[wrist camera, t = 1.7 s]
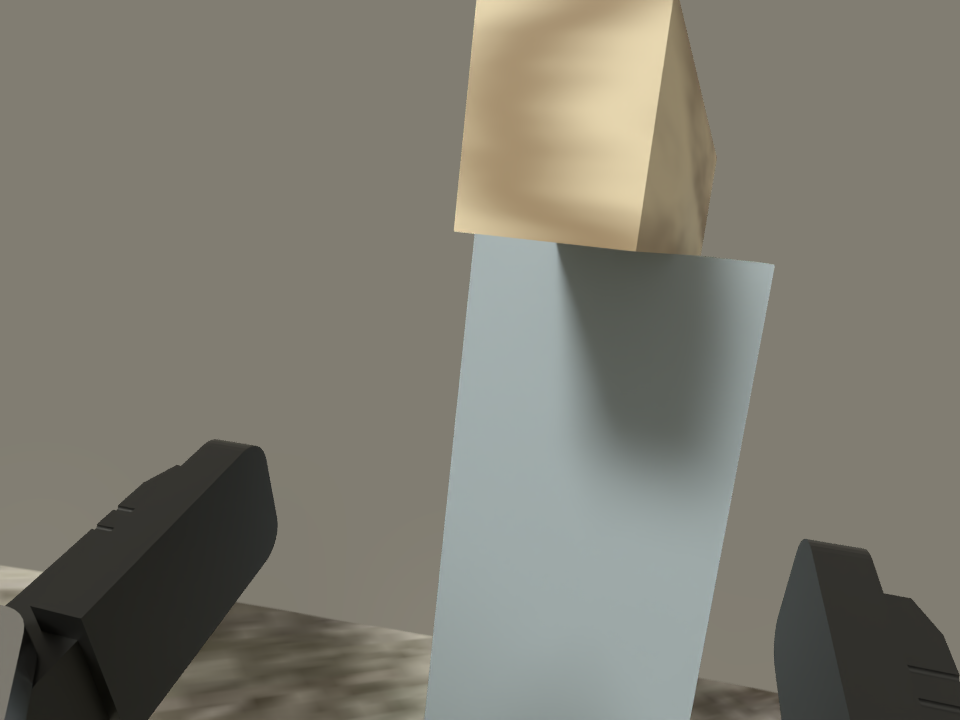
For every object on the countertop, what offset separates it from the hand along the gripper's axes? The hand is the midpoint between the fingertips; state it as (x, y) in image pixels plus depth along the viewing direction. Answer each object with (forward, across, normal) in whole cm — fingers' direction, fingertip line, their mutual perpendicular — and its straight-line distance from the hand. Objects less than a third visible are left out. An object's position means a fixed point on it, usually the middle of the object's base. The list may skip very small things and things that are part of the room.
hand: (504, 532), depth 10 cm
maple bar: (+17, -1, +1) cm, 17 cm away
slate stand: (+10, 0, +33) cm, 34 cm away
